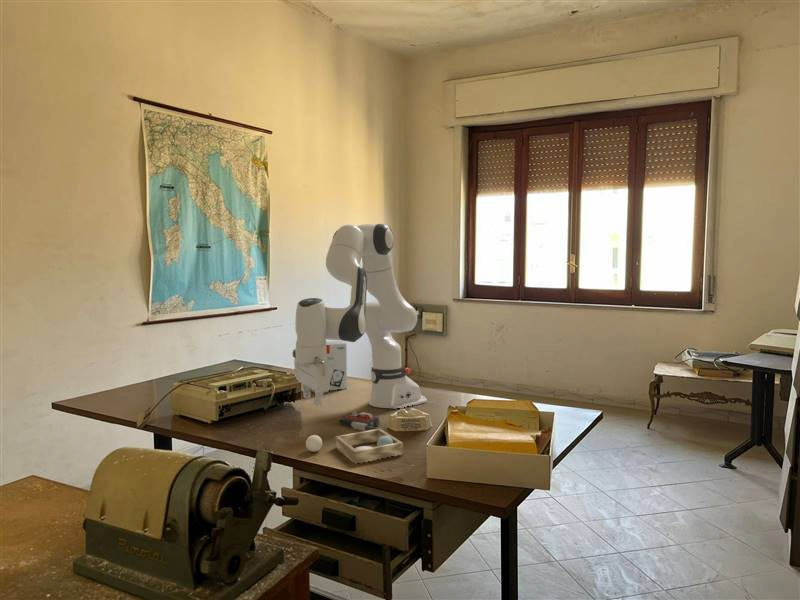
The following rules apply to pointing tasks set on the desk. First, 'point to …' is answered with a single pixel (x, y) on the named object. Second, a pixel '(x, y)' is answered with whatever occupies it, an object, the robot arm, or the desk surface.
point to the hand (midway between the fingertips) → (312, 401)
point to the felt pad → (362, 447)
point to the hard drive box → (336, 365)
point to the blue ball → (384, 440)
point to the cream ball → (313, 443)
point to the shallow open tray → (369, 454)
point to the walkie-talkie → (360, 421)
